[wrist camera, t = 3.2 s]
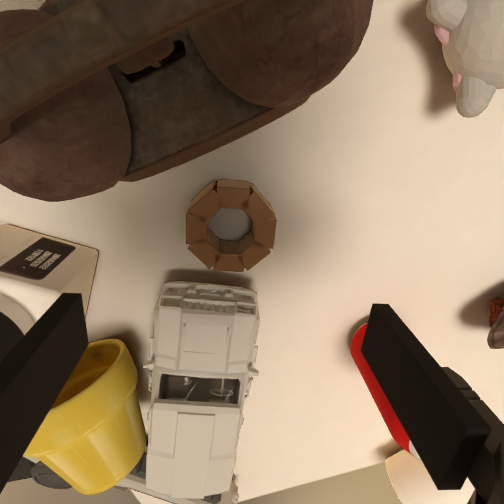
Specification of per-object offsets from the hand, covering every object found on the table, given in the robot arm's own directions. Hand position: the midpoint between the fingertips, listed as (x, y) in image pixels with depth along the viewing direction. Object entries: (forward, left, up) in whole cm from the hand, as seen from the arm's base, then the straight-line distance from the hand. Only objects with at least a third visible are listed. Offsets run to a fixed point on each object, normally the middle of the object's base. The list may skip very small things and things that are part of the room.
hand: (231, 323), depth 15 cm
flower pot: (+22, -9, -8) cm, 25 cm away
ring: (0, 0, -15) cm, 15 cm away
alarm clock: (-11, -3, -15) cm, 18 cm away
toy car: (+14, -2, -15) cm, 21 cm away
